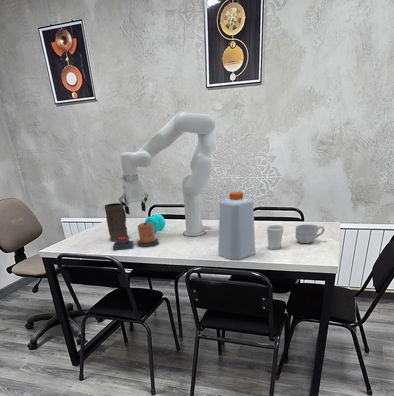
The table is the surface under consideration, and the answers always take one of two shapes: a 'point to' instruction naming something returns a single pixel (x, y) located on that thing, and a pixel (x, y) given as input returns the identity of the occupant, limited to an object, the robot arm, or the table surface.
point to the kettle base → (148, 243)
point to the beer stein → (116, 221)
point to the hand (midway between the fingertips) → (135, 212)
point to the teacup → (307, 233)
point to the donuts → (156, 222)
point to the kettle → (146, 232)
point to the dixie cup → (274, 236)
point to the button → (122, 239)
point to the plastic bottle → (236, 227)
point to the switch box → (123, 245)
